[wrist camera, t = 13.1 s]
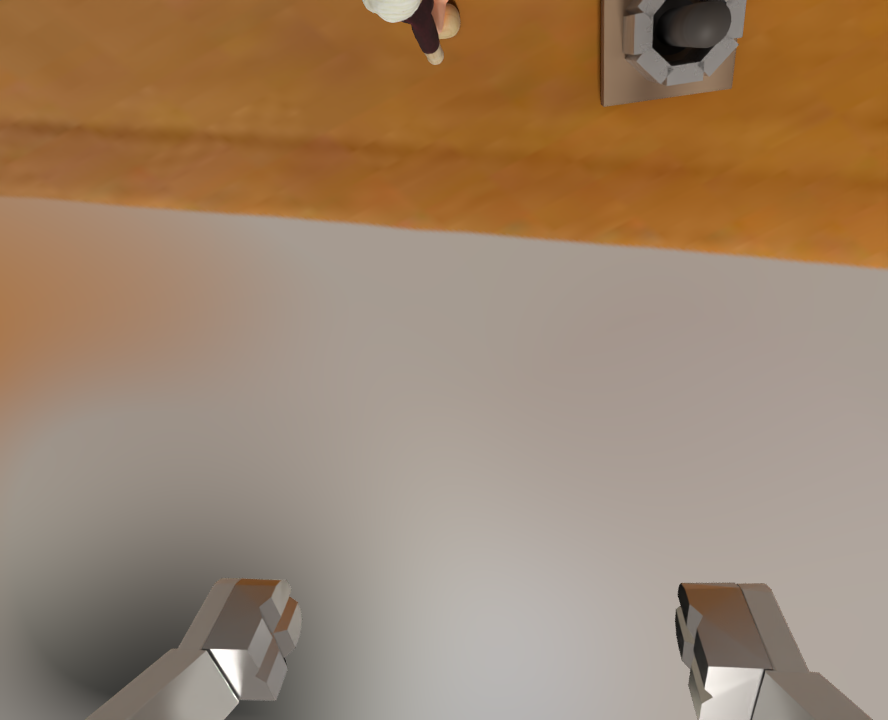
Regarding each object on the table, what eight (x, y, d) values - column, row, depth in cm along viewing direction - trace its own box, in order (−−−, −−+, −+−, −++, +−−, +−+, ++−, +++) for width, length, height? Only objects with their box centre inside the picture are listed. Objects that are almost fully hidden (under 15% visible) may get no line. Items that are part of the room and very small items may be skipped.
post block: (739, -63, 32) (815, -97, 24) (724, 86, 36) (783, 101, 28) (601, -37, 33) (627, -60, 25) (600, 104, 37) (623, 122, 29)
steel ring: (726, -40, 31) (751, -50, 28) (716, 71, 34) (738, 75, 31) (623, -21, 32) (635, -28, 29) (621, 85, 35) (632, 91, 32)
